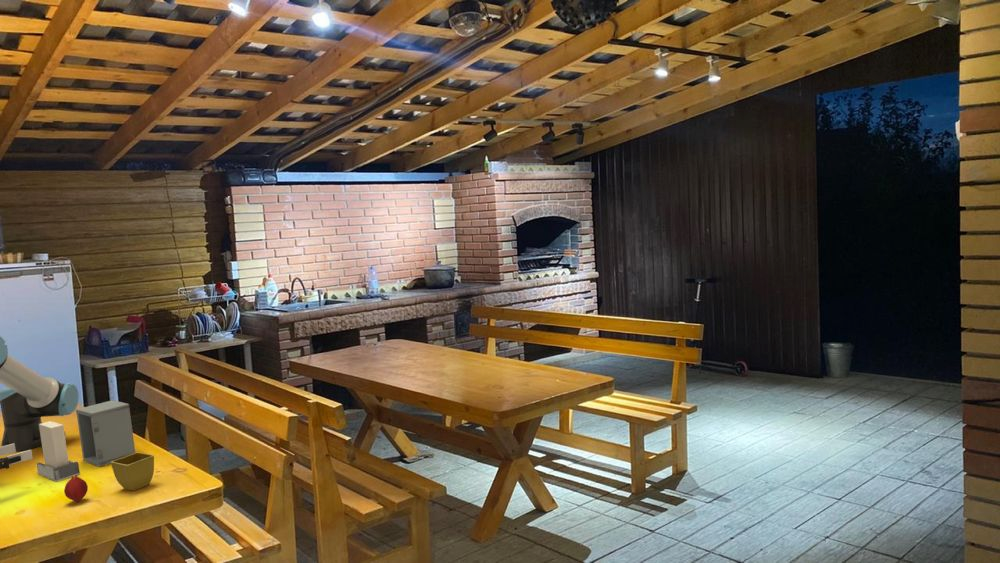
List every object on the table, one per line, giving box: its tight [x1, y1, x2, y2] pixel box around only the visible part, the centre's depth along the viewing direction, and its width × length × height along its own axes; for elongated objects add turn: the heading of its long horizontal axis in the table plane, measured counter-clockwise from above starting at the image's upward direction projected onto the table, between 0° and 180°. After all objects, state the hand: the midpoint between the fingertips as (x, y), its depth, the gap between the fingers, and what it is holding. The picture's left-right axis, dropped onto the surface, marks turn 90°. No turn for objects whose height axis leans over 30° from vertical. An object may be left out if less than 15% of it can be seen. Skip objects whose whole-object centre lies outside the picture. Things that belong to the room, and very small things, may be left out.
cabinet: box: [75, 400, 136, 468], centre depth 251 cm, size 13×12×18 cm
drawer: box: [35, 459, 81, 483], centre depth 240 cm, size 15×7×4 cm, turn 51°
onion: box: [64, 475, 89, 503], centre depth 214 cm, size 6×6×8 cm
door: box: [39, 420, 70, 468], centre depth 240 cm, size 10×4×16 cm, turn 51°
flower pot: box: [110, 451, 155, 492], centre depth 222 cm, size 9×9×9 cm
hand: (23, 450), depth 232 cm, fingers open, 13 cm apart
